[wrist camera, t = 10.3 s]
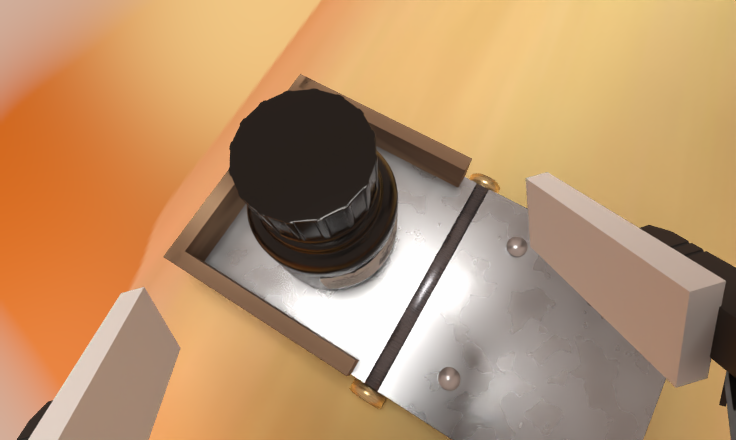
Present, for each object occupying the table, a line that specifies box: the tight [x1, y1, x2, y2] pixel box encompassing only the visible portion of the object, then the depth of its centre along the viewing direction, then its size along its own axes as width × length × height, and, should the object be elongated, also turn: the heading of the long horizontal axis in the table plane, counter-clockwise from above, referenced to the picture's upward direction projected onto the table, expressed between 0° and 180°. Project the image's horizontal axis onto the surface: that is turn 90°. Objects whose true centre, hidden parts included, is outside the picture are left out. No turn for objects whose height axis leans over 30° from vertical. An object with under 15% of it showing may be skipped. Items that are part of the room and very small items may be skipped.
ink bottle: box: [229, 88, 398, 289], centre depth 25 cm, size 10×9×12 cm
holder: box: [164, 74, 472, 376], centre depth 29 cm, size 16×14×3 cm
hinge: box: [204, 146, 666, 440], centre depth 30 cm, size 18×31×3 cm, turn 59°
